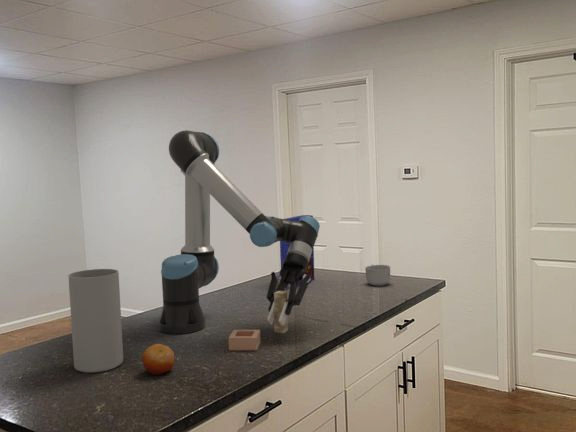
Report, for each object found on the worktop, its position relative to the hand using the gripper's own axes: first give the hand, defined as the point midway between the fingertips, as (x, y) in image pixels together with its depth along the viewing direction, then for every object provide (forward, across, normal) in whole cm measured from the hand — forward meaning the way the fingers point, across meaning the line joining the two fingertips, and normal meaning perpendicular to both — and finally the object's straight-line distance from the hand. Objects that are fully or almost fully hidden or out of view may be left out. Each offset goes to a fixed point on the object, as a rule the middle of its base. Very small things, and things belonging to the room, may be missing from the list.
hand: (275, 322), depth 161 cm
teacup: (-59, -6, -67) cm, 90 cm away
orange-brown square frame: (+9, +7, 0) cm, 11 cm away
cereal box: (-52, +28, -61) cm, 85 cm away
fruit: (+28, +18, +18) cm, 37 cm away
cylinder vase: (+29, +36, +19) cm, 50 cm away
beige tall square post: (0, 0, -5) cm, 5 cm away
